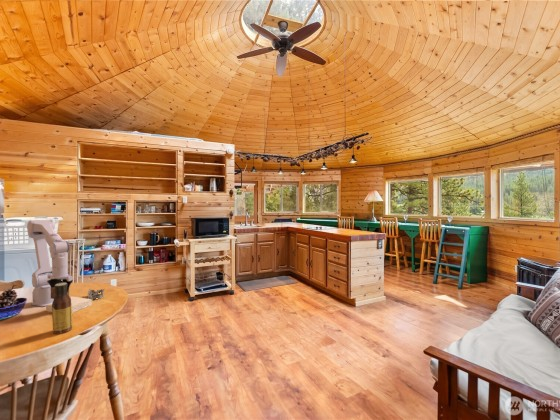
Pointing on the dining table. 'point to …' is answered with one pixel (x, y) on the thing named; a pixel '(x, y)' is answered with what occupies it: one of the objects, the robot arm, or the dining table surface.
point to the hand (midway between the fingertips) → (60, 294)
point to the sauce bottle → (61, 310)
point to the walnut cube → (54, 292)
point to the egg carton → (95, 294)
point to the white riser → (74, 304)
